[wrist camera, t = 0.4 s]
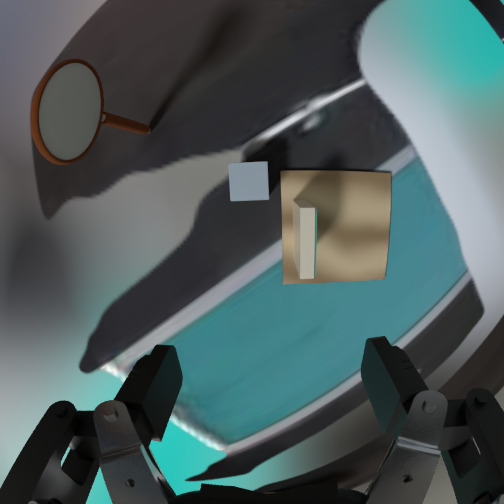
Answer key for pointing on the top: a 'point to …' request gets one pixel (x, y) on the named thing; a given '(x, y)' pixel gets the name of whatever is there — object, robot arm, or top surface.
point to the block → (248, 181)
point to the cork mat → (340, 223)
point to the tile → (304, 238)
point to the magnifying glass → (72, 112)
